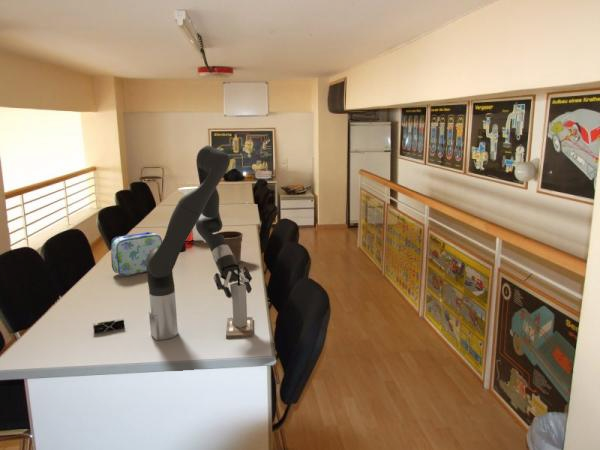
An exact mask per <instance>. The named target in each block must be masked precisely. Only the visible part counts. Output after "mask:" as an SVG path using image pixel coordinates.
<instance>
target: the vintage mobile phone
mask: <svg viewBox="0 0 600 450" xmlns="http://www.w3.org/2000/svg"><path fill="white" fill-rule="evenodd" d="M237 269H238V281H236V282H232V283H229V284H230V285H229V286H230V288H229V289H230V292H231V294H232V297H231V299H232V301H231V302H232V318H233V320H232V325H234V326H236V327H238V328H242V327H245V326H247V317H248V309H247V308H248V306H247V305H248V302H247V290H246V285H244V284H243V283H241V282H240V279H241V278H240V276H239V269H240V264H239V263H238V264H237Z"/></svg>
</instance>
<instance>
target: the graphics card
mask: <svg viewBox="0 0 600 450" xmlns="http://www.w3.org/2000/svg"><path fill="white" fill-rule="evenodd" d="M92 328H93V334H100V333H107V332H112V331H118V330H121V329H125V328H126V326H125V319H124V318H118V319H114V320H109V321H108V320H106V321H101V322H97V323H92Z"/></svg>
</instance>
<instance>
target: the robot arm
mask: <svg viewBox="0 0 600 450" xmlns="http://www.w3.org/2000/svg"><path fill="white" fill-rule="evenodd" d="M195 160H196V161H195V162H196V168H197V176H198V181H199V185H198V186H196V187H197V188H196V189H194V190H193V191H191V192H189V193H188V194H186V195H185V196H184V195H183V196H182V197H181V198H180V199H179V201H178V203H177V204H176V206H175V208H174V210H172V211H173V212H172V214H171V216H170V219H169V221H168V224H167V228H166V232H165V234H164V237H163V239H162V243H161V245H160V246H159V248H157V249H154V250H152V251H151V252H150V253H149V254H148V256H147V258H146V268H147V272H146V276H147V286H148V293H149V295H148V296H149V307H150V311H148V314H149V316H148V317H149V327H150V328H149V329H150V335H151V336H152V337H153V338H154V339H155V340H156V341H160V340H162V341H163V340H169V339H173V338H174V337H176V336H177V335H178V334H179V330H178V329H179V327H178V318H177V317H178V316H177V314H178V313H177V303H176V288H175V281H174V280H175V279H174V274H173V270H174V267H175V265H176V262H177V260H178V258H179V255H180V253H181V251H182V249H183V246H184V245H185V243H186V242H185V241H186V240H187V238H188V237H189V235H190V233H191V231H192V230H193V228H194V226H195V225H196V229H197V231H198V233H199V234H200V235H201V237H202V238H203V239H204V240H205V241H206V244H207V245H208V247H209V250H210V252H211V254H212V257H213V261H214V262H215V265H216V267H217V270H218V272H219V273H217V272H216V273H215V274H214V275H213V279H214V280H213V281H214V283H215V285H216V288H217V290H218V291H220V290H223V292H224V294H225V297H226V298H228V299H232V294H231V289H230V288H229V286H228V285H229V284H233V283H236V282H238V269H237V265H238V264H237V263H236V260H235V258H234V256H233V254H232V252H231V250H230V248H229V246H228V244H227V242H226V240H225V238H224V236H223V235H221V234H216V233H219V232H221V231H222V229H223V222H222V218H221V214H220V195H219V192H218V188H217V186H218V185H219V184H220V182H221V181H222V179H223V178H224V176H225V175H226V172H227V171H228V169H229V166H230V163H231V158H230V155H229V154H227V153H225V152H224V151H221V150H220V149H218V148H215V147H214V146H211V145H204V146H203V147H201V148H200V149H199V151H198V153H197V155H196V159H195ZM201 213H202V215H203V216H205V218H200V219H199V217H200V215H201ZM239 276H240V283H241V284H244V285H246V293H247V294H251V292H252V289H253V288H252V286H251V284H250V282H252V279H253V278H252V275H251V273H250V271H249V269H248V267H247V266H244V267H243V268H239ZM221 279H223V280H224V281H223V283H222V281H221Z"/></svg>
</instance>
